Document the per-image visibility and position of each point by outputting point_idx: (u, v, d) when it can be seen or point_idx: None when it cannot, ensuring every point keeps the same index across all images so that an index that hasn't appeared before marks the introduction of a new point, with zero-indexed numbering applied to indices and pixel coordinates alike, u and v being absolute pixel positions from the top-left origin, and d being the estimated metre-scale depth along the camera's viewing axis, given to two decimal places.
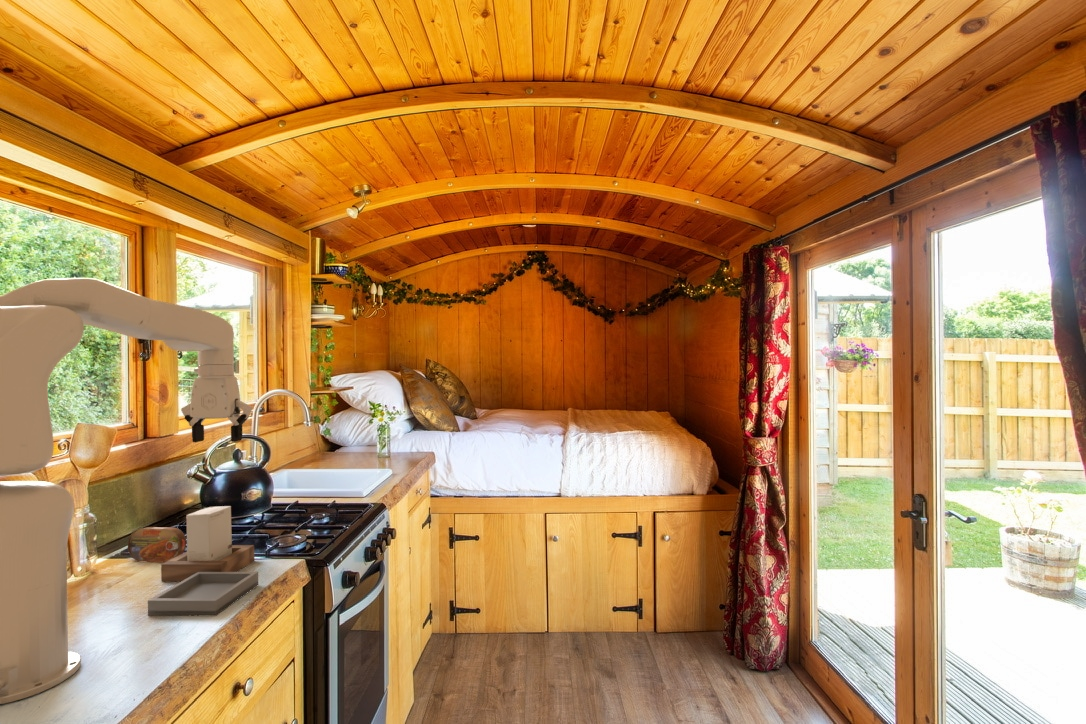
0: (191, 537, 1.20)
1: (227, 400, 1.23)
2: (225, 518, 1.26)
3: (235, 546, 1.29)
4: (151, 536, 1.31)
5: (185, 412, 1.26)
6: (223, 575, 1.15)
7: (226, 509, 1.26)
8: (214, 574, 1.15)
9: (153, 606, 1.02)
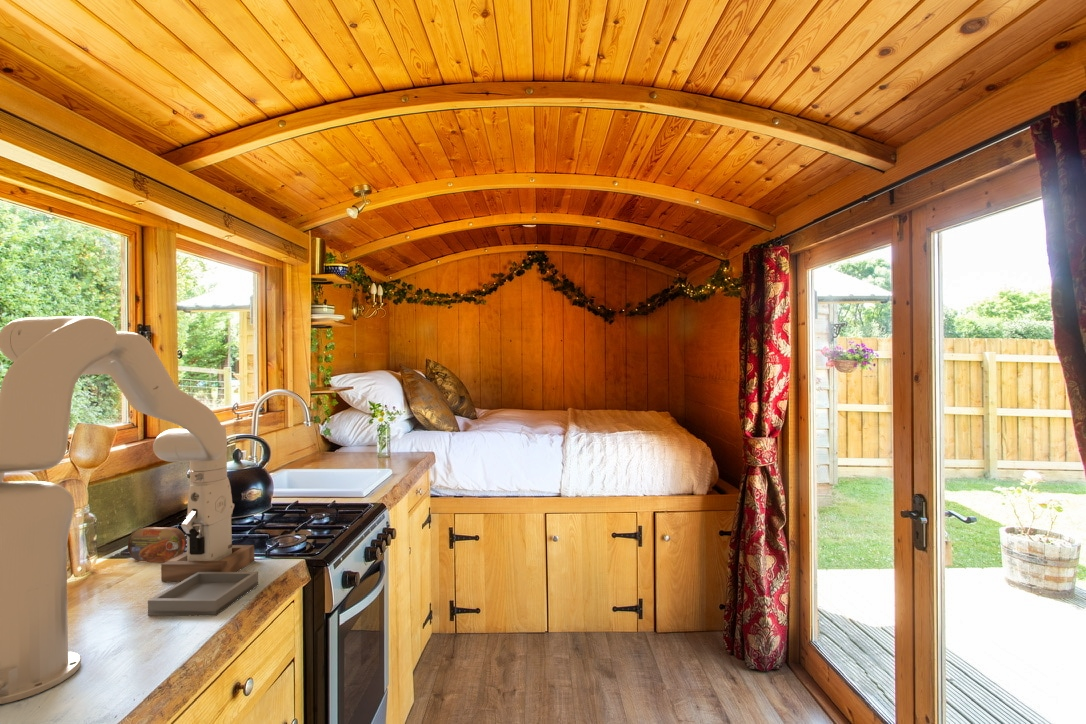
0: None
1: (231, 498, 1.29)
2: (225, 518, 1.26)
3: (235, 546, 1.29)
4: (151, 536, 1.31)
5: (190, 527, 1.17)
6: (223, 575, 1.15)
7: None
8: (214, 574, 1.15)
9: (153, 606, 1.02)
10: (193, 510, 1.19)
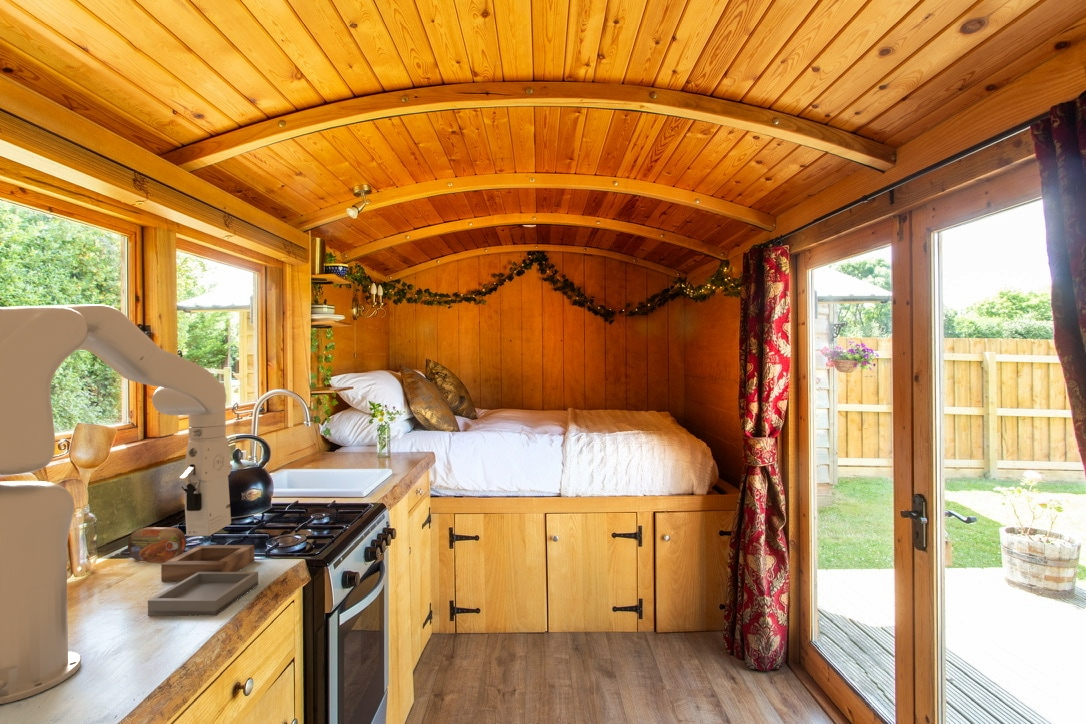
0: None
1: (229, 458, 1.28)
2: (222, 478, 1.25)
3: (235, 546, 1.29)
4: (151, 536, 1.31)
5: (187, 482, 1.17)
6: (223, 575, 1.15)
7: None
8: (214, 574, 1.15)
9: (153, 606, 1.02)
10: (191, 466, 1.19)
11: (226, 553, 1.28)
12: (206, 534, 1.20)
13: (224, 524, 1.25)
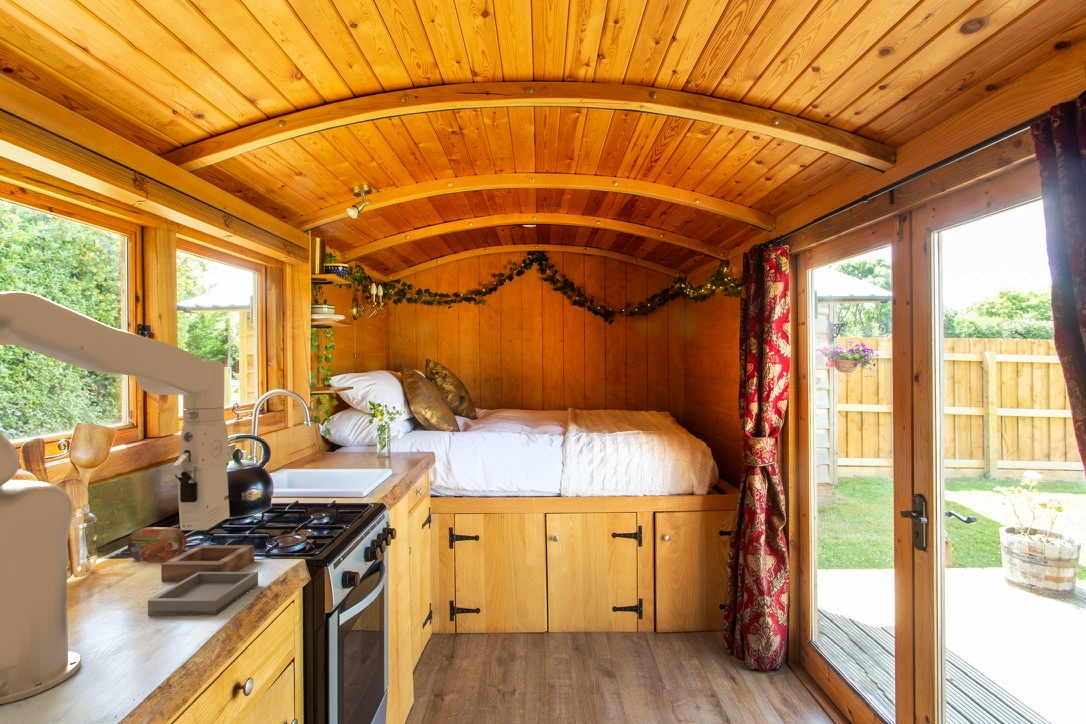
0: None
1: (228, 445, 1.16)
2: (220, 466, 1.12)
3: (235, 546, 1.29)
4: (151, 536, 1.31)
5: (182, 469, 1.04)
6: (223, 575, 1.15)
7: None
8: (214, 574, 1.15)
9: (153, 606, 1.02)
10: (186, 452, 1.06)
11: (226, 553, 1.28)
12: (202, 528, 1.07)
13: (222, 517, 1.13)
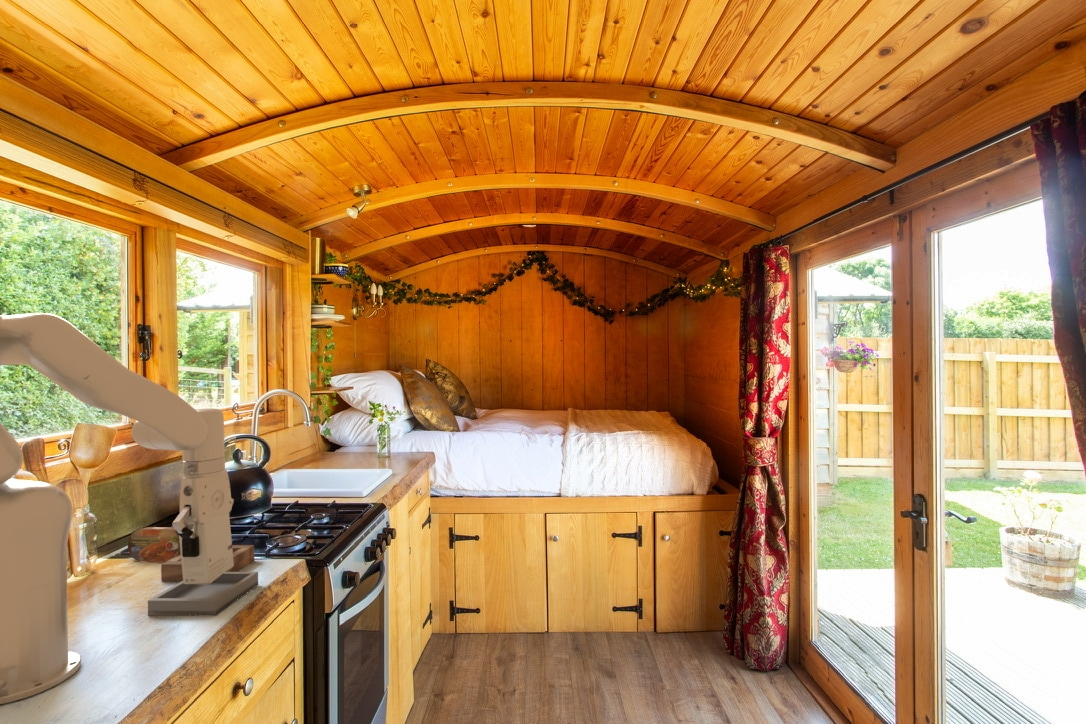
0: None
1: (230, 493, 1.13)
2: (222, 516, 1.10)
3: (235, 546, 1.29)
4: (151, 536, 1.31)
5: (182, 526, 1.02)
6: (223, 575, 1.15)
7: None
8: None
9: (153, 606, 1.02)
10: (186, 506, 1.04)
11: None
12: (206, 582, 1.05)
13: (226, 568, 1.11)
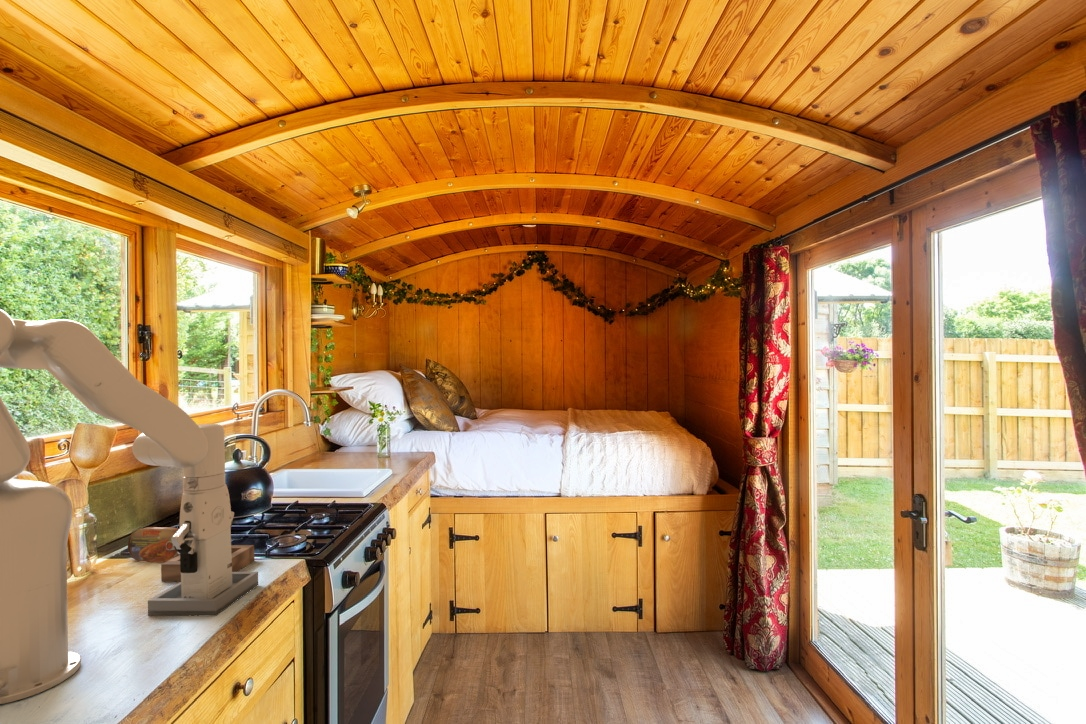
0: None
1: (230, 508, 1.13)
2: (224, 534, 1.11)
3: (235, 546, 1.29)
4: (151, 536, 1.31)
5: (181, 541, 1.01)
6: None
7: None
8: None
9: (153, 606, 1.02)
10: (186, 522, 1.04)
11: None
12: None
13: (224, 586, 1.10)
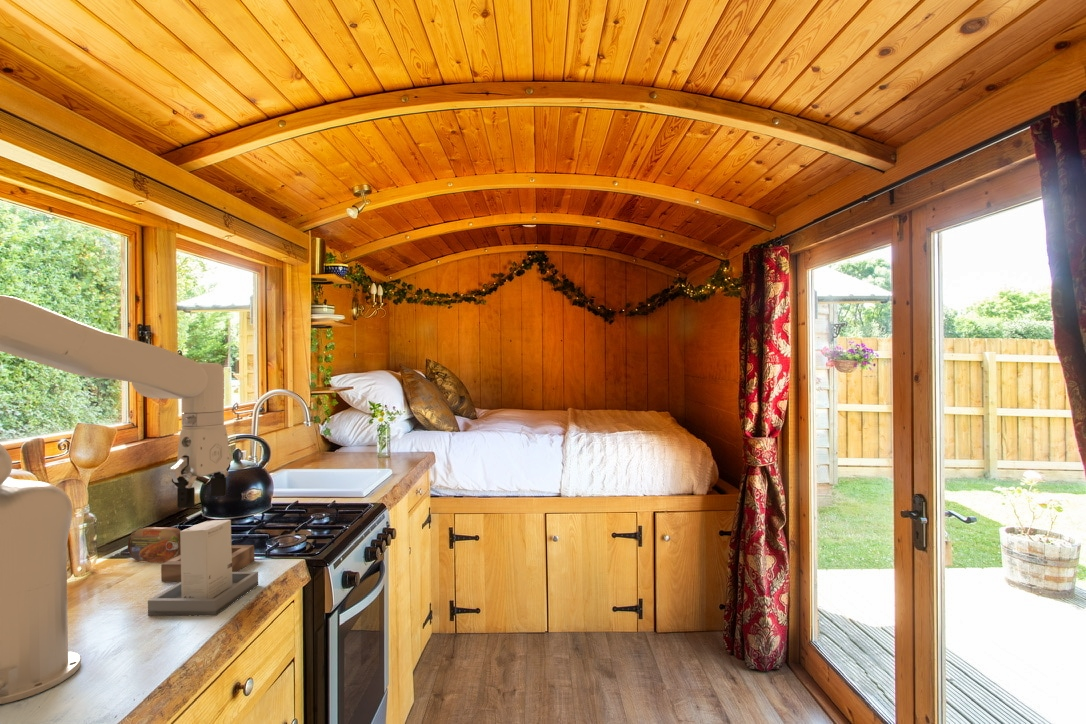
0: (186, 557, 1.05)
1: (228, 449, 1.13)
2: (224, 534, 1.11)
3: (235, 546, 1.29)
4: (151, 536, 1.31)
5: (178, 474, 1.01)
6: None
7: (225, 523, 1.11)
8: None
9: (153, 606, 1.02)
10: (184, 456, 1.04)
11: None
12: None
13: (224, 587, 1.10)
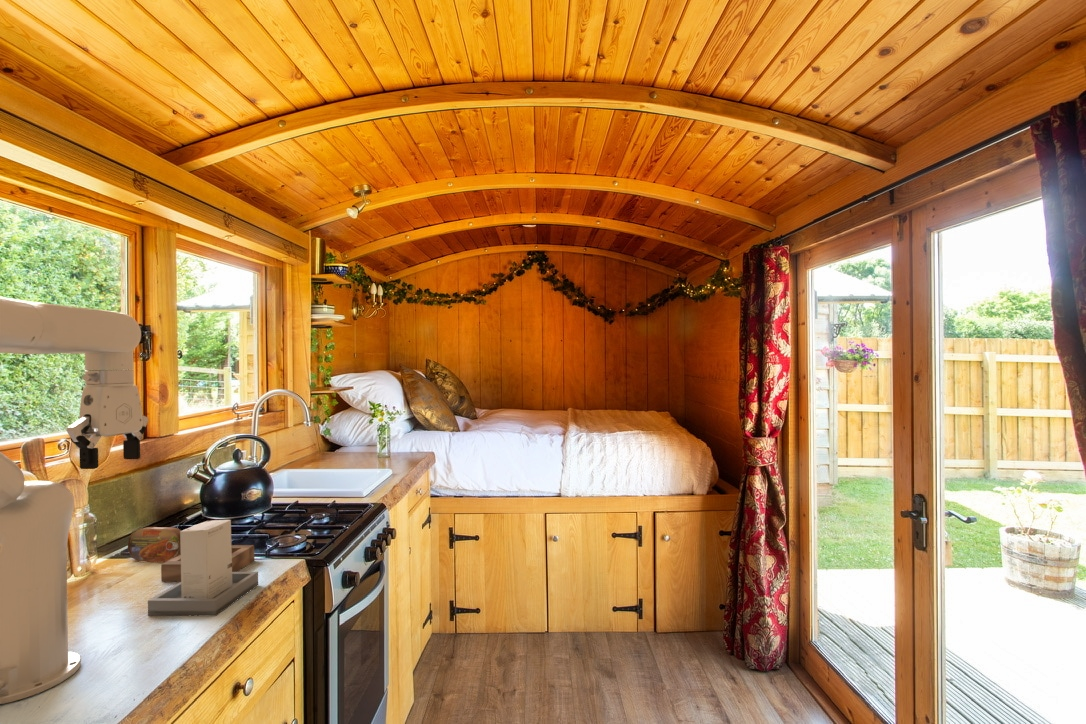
0: (186, 557, 1.05)
1: (141, 410, 1.08)
2: (224, 534, 1.11)
3: (235, 546, 1.29)
4: (151, 536, 1.31)
5: (78, 433, 0.96)
6: None
7: (225, 523, 1.11)
8: None
9: (153, 606, 1.02)
10: (86, 415, 0.99)
11: None
12: None
13: (224, 587, 1.10)
